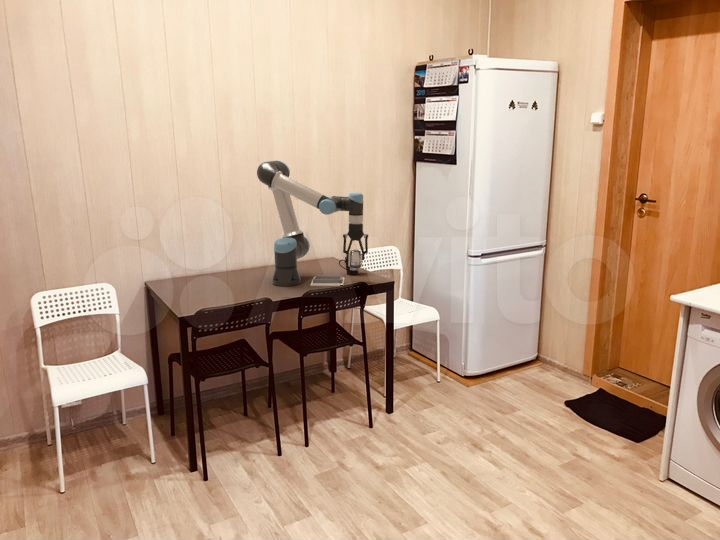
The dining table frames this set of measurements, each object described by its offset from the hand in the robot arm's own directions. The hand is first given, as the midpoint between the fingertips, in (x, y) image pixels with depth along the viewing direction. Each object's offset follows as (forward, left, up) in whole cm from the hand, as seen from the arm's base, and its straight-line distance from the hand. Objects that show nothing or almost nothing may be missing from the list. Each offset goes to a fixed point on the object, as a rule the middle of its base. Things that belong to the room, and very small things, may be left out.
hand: (355, 265), depth 305 cm
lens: (0, 0, -2) cm, 2 cm away
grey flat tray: (-15, -1, -9) cm, 17 cm away
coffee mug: (-4, +18, -9) cm, 20 cm away
